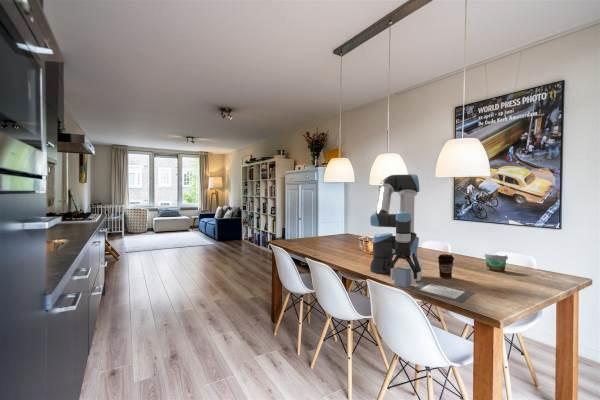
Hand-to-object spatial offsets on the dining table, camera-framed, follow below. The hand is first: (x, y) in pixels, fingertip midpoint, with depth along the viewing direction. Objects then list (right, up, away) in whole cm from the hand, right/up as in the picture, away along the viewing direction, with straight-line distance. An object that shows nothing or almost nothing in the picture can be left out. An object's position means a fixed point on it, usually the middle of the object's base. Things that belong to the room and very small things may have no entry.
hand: (402, 282), depth 154 cm
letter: (+16, -2, -10) cm, 19 cm away
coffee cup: (+29, -1, +13) cm, 32 cm away
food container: (+67, -1, +25) cm, 72 cm away
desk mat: (+16, -2, -10) cm, 19 cm away
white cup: (+10, -1, +10) cm, 14 cm away
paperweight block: (0, -2, 0) cm, 2 cm away
